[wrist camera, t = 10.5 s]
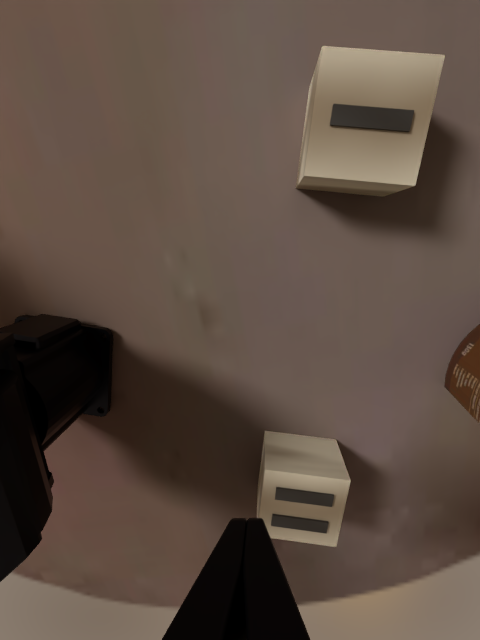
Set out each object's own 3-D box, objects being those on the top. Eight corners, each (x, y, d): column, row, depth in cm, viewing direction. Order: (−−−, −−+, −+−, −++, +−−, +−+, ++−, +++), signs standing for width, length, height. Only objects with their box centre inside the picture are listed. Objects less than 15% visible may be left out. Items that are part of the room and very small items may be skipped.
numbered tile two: (324, 496, 23) (336, 549, 19) (257, 487, 24) (256, 538, 20) (335, 438, 22) (351, 482, 18) (264, 429, 22) (265, 471, 18)
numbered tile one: (382, 197, 18) (416, 185, 14) (295, 188, 18) (304, 175, 14) (403, 97, 17) (447, 52, 13) (309, 89, 17) (323, 43, 13)
